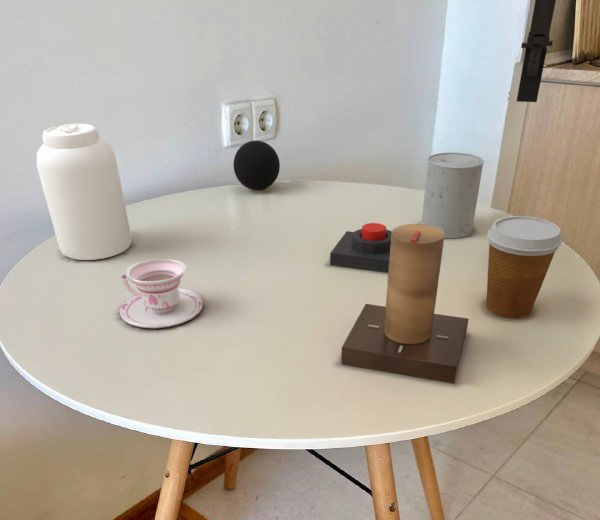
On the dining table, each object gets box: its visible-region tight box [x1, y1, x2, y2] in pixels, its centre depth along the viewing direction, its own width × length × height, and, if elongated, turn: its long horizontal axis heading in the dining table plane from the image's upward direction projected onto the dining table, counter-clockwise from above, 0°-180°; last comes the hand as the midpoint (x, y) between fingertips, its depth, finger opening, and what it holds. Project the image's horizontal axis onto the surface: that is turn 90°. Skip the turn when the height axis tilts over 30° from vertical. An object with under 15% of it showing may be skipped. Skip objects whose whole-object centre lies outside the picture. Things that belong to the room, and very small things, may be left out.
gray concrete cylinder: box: [420, 152, 485, 239], centre depth 106 cm, size 10×10×12 cm
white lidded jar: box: [36, 123, 133, 261], centre depth 100 cm, size 12×12×20 cm
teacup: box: [119, 258, 204, 329], centre depth 85 cm, size 12×12×6 cm
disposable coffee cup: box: [485, 215, 563, 320], centre depth 81 cm, size 10×10×12 cm
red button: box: [361, 222, 387, 241], centre depth 97 cm, size 4×4×2 cm
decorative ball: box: [232, 140, 281, 191], centre depth 128 cm, size 10×10×10 cm
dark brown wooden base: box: [340, 303, 470, 384], centre depth 76 cm, size 14×12×3 cm
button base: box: [329, 228, 392, 274], centre depth 99 cm, size 12×10×4 cm
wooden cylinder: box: [384, 223, 445, 344], centre depth 71 cm, size 6×6×13 cm
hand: (526, 100), depth 84 cm, fingers closed
